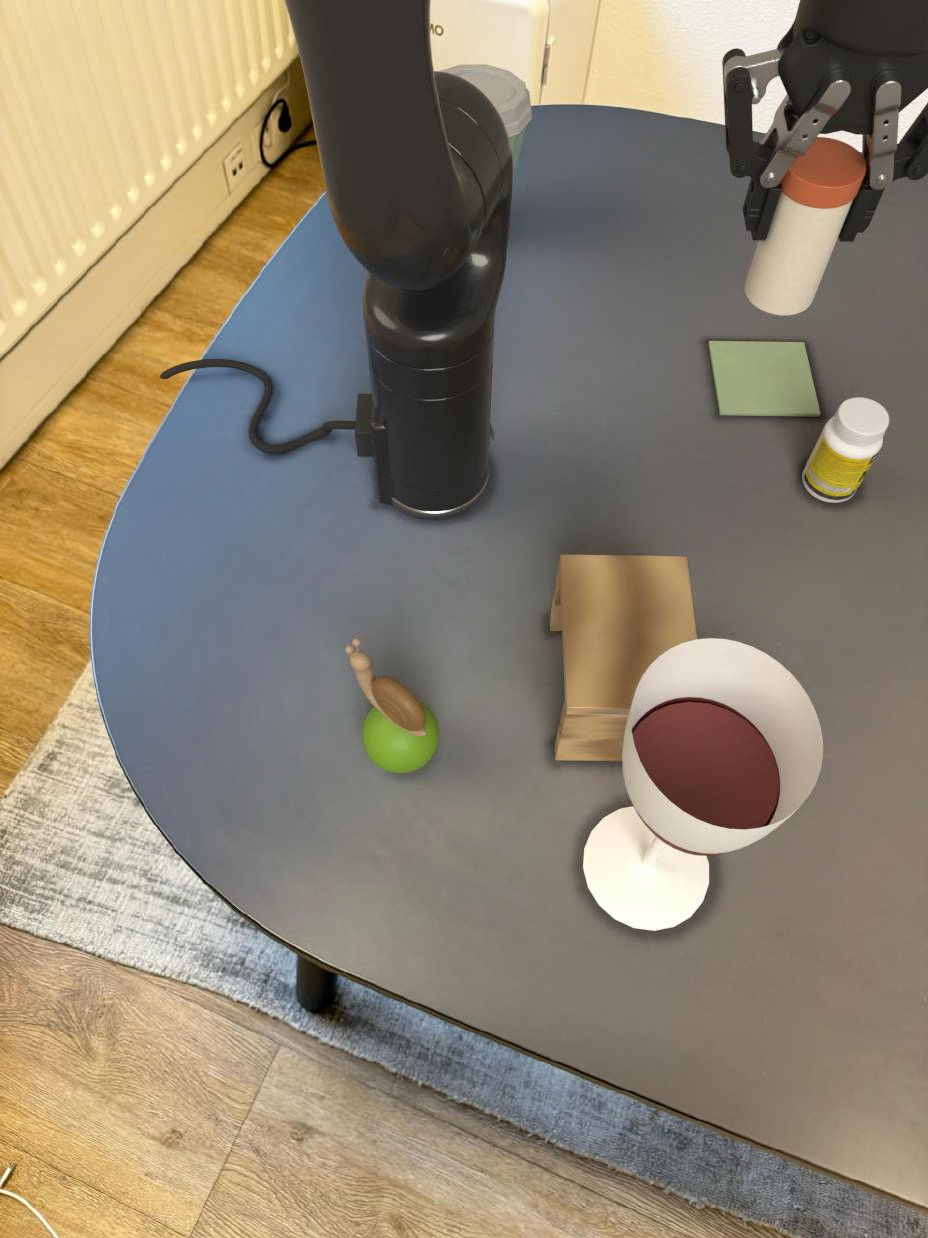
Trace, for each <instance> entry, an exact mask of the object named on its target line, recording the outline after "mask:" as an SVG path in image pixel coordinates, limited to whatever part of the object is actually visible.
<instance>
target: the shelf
mask: <svg viewBox="0 0 928 1238" xmlns="http://www.w3.org/2000/svg"><path fill="white" fill-rule="evenodd" d="M557 566H558V567H557V571H556V578H555V584H554V590H553V596H552V603H551V609H550V614H549V615H550V616H549V631H550V632H561V636H562V637H561V638H562V658H563V660H562V661H563V681H564V682H563V683H564V701H563V704H562V705H563V706H562V709H561V714H560V719H559V724H558V728H557V733H556V738H555V741H554V760H555V761H581V762H582V761H583V762H585V761H586V762H587V761H588V762H622V752H623V743H624V735H625V729H626V724H627V720H628V715H629V712H630V708H631V705H632V701H633V698H634V694H635V691H636V688H637V686H638V684H639V682H640V680H641V678H642V676H643V674H644V673H645V672H646V670H647V669H648V667H649V666H650V665H651V664H652V663H653V662H654V661H655V660H656V659H657V658H658V657H659V656H660V655H662V654H663V653H665V652H666V651H668V650H669V649H671V648H673V647H675V646H677V645H679V644H682V643H685V642H689V641H692V640H697V639H698V634H697V627H696V619H695V611H694V603H693V595H692V594H693V593H692V588H691V587H692V585H691V579H690V570H689V564H688V557H687V556H684V555H624V554H623V555H621V554H620V555H619V554H618V555H617V554H560V555H559V561H558V565H557Z"/></svg>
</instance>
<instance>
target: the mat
mask: <svg viewBox="0 0 928 1238" xmlns="http://www.w3.org/2000/svg"><path fill="white" fill-rule="evenodd" d="M707 345H708V351H709V357H710V363H711V370H712V377H713V381H714V388H715V395H716V400H717V407H718V414H719V416H745V417H746V416H747V417H748V416H751V417H810V418H811V417H813V418H814V417H817V418H818V417H820V416H821V410H820V405H819V401H818V398H817V392H816V388H815V387H816V386H815V384H814V380H813V375H812V371H811V365H810V362H809V358H808V357H809V356H808V354H807V349H806V344H805V342H804V341H756V340H755V341H754V340H753V341H751V340H750V341H749V340H748V341H747V340H745V341H744V340H709V341H708V344H707Z"/></svg>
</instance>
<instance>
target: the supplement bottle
mask: <svg viewBox="0 0 928 1238" xmlns="http://www.w3.org/2000/svg"><path fill="white" fill-rule="evenodd" d="M889 424H890V415H889V412H888V411H887V410H886V408H885V407H884V406H883V405H882V404H880V403H879V402H877V401H876V400H874V399H871V398H867V397H862V396H861V397H860V396H857V397H855V396H854V397H851V398H847V399H845V400H844V401H843V402H842V403H840V405H839V407H838V409H837V410H836V412H835V414H834V415H833V416H832V417H830V418H829V419H828V421H827V422H826V423H825V425H824V426H823V429H822V430H821V433H820V434H819V437H818V439H817V441H816V443H815V445H814V446H813V449H812V451H811V453H810V455H809V458H808V459H807V462H806V464H805V465H804V468H803V470H802V473H801V481H802V484H803V487H804V488H805V490H806V491H807V492H808V493H809V494H810V495H811V496H812V497H814V498H815V499H817V500H819V501H822V502H825V503H832V504H835V503H836V504H837V503H843V502H846V501H848V500H850V499H851V498H853V496H854V495H855V494H856V492H857V491H858V489H859V488H860V486H861V484H862V482H863V481H864V479H865V478H866V475H867V474H868V472H869V470H870V469H871V467H872V465H873V463H874V462H875V460H876V458H877V456H878V454H879V453H880V451H881V449H882V447H883V442H884V438H883V437H884V436H885V434H886V431H887V429H888V427H889Z"/></svg>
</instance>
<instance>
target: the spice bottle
mask: <svg viewBox="0 0 928 1238" xmlns="http://www.w3.org/2000/svg"><path fill="white" fill-rule="evenodd" d="M865 173H866V162H865V159H864V158H863V156H862V152H860V151H859V150H858V149H856V148H855V147H854V146H852V145H851V144H849V143H846V142H844V141H841V140H839V139H835V138H831V137H824V136H817V138H816V139H815V140H814V142H813V143H812V145H811V146H810V148H809V149H808V150H807V152H806V153H805V155H803V156H802V157H800V156H799V157H798V158H797V159H796V160H795V162H794V163H793V164H792V166H791V167H790V169H789V170H788V172H787V173H786V175H785V176H784V177H783V179H782V180H781V186H782V192H781V195H780V198H779V201H778V204H777V207H776V210H775V213H774V217H773V220H772V223H771V226H770V229H769V232H768V235H767V238H766V240H765V241H757V244H756V247H755V251H754V254H753V256H752V259H751V263H750V266H749V270H748V273H747V276H746V279H745V282H744V287H743V288H744V293H745V296H746V298H747V300H748V301H749V303H751V304H752V305H753V306H754V307H756V308H757V309H758V310H761V311H762V312H765V313H768V314H771V315H774V316H783V317H785V316H794V315H797V314H801V313H802V312H804V311H806V310H807V309H808V308H809V307H810V306H811V305H812V303H813V301H814V299H815V296H816V294H817V292H818V288H819V286H820V283H821V281H822V279H823V277H824V274H825V271H826V269H827V266H828V263H829V261H830V258H831V257H832V255H833V254H832V253H833V251H834V249H835V245H836V243H837V241H838V240H839V237H838V236H839V234H840V231H841V229H842V226H843V224H844V221H845V219H846V216H847V214H848V211H849V209H850V206H851V204H852V201H853V199H854V198H855V197H856V195H857V193H858V191H859V188H860V186H861V183H862V181H863V178H864V176H865Z"/></svg>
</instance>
